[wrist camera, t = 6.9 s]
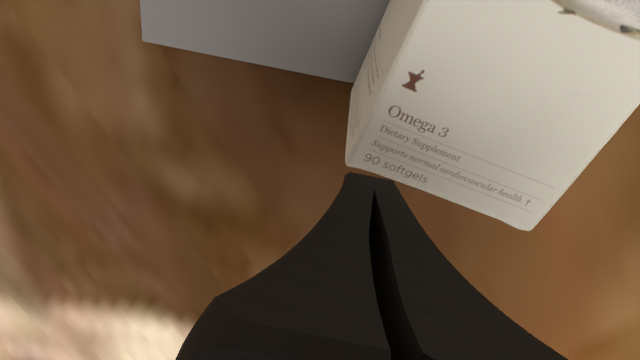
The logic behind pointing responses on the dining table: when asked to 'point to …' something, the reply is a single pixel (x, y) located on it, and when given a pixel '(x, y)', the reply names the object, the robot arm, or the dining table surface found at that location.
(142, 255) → the dining table surface
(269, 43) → the mat
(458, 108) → the supplement box
